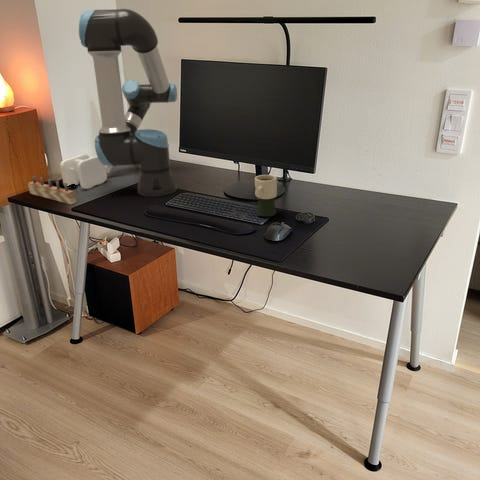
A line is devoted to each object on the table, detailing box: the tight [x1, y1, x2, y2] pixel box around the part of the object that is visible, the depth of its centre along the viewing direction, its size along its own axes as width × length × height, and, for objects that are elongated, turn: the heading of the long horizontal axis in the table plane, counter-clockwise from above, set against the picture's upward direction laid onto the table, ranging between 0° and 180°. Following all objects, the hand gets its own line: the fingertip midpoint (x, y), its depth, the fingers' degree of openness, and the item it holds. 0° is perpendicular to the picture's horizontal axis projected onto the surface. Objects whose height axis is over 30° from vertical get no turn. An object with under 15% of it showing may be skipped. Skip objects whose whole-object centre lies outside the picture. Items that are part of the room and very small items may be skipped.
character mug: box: [254, 174, 278, 217], centre depth 161 cm, size 11×7×13 cm, turn 153°
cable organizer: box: [59, 153, 108, 190], centre depth 200 cm, size 15×11×12 cm
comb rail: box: [27, 175, 78, 205], centre depth 187 cm, size 26×2×7 cm, turn 55°
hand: (105, 171), depth 209 cm, fingers closed
